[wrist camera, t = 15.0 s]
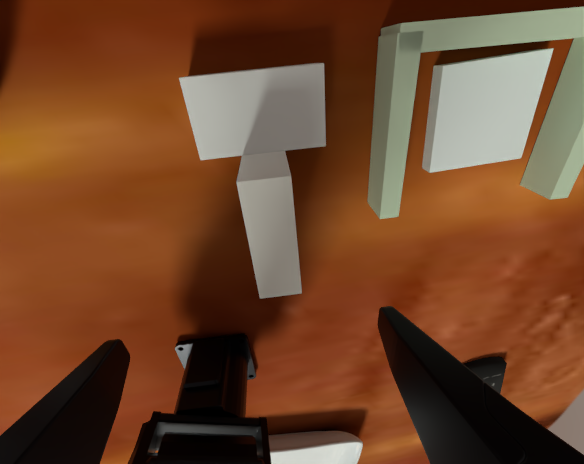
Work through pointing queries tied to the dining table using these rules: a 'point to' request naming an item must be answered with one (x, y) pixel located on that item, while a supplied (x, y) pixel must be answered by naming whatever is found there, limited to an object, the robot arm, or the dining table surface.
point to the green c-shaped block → (468, 34)
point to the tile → (482, 109)
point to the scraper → (262, 153)
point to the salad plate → (315, 448)
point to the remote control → (489, 371)
